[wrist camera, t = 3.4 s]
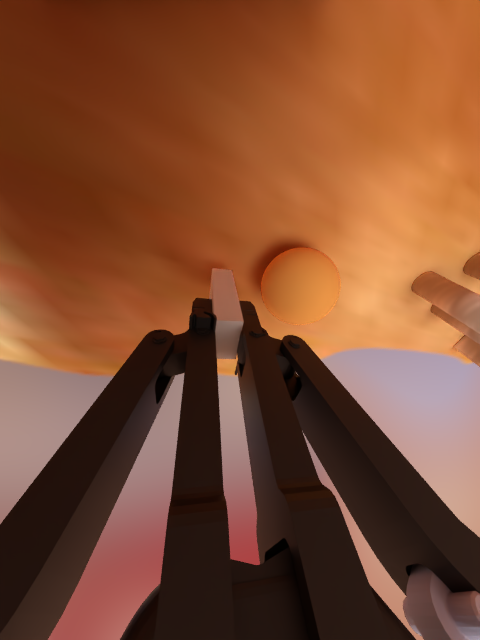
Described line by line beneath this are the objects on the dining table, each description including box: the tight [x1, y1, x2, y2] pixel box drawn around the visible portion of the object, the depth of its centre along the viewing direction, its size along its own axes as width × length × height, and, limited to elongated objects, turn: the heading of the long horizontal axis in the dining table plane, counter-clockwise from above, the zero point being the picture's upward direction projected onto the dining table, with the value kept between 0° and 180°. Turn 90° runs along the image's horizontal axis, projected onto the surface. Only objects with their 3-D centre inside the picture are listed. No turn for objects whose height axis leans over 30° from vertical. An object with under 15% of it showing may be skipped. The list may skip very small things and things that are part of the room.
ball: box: [261, 247, 341, 325], centre depth 17 cm, size 6×6×6 cm
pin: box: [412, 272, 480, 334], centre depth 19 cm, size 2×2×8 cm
